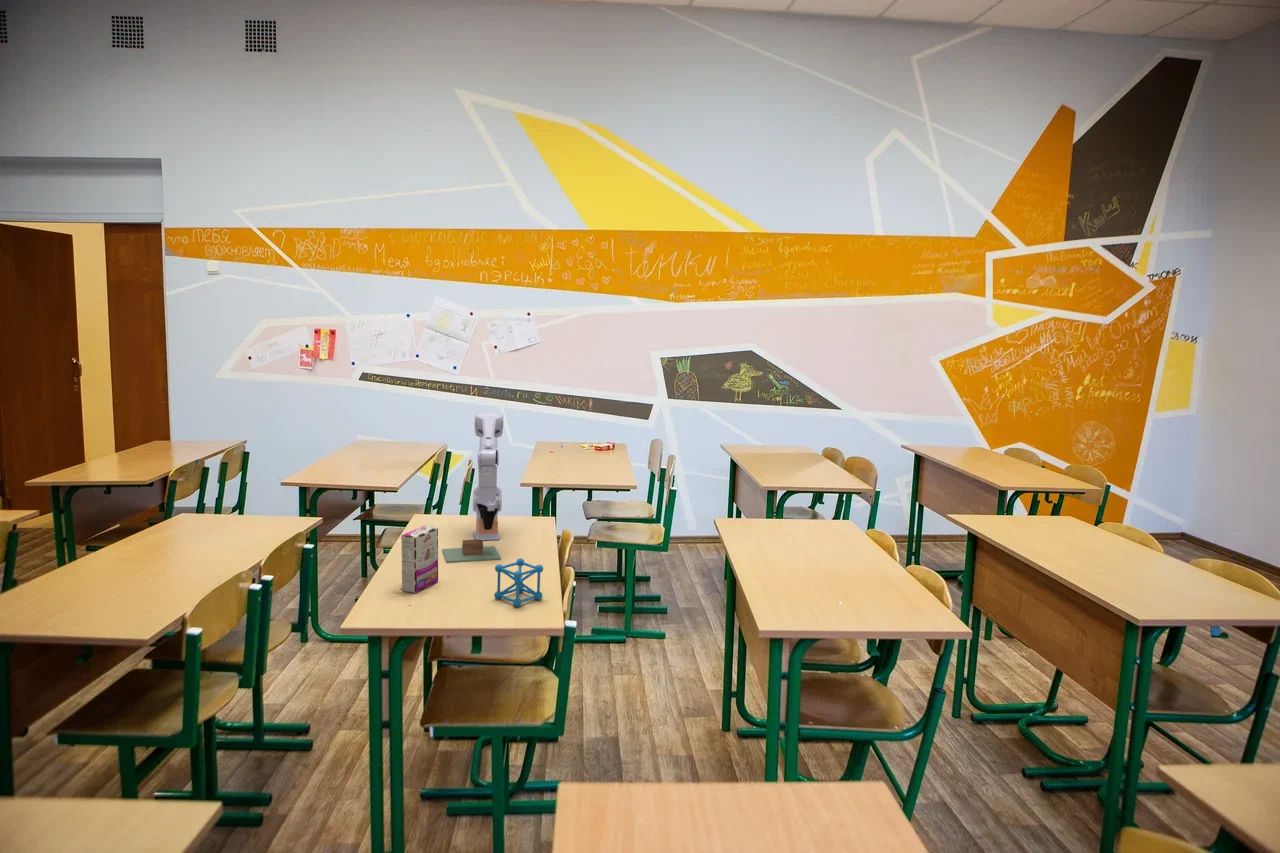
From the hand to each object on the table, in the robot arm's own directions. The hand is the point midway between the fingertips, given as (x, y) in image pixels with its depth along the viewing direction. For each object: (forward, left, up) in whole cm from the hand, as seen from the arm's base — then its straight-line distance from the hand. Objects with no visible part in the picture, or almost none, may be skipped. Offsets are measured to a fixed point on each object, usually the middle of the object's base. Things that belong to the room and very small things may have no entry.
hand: (486, 527), depth 246 cm
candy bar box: (+25, -23, -10) cm, 35 cm away
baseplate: (-1, -5, -9) cm, 11 cm away
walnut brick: (-1, -4, -9) cm, 10 cm away
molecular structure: (+41, +2, -10) cm, 42 cm away
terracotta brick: (0, 0, -2) cm, 2 cm away
